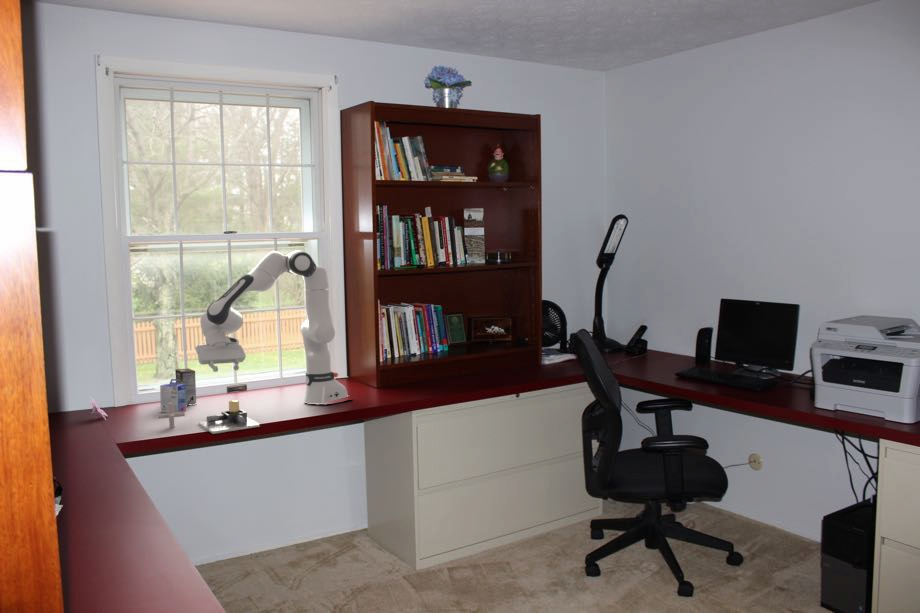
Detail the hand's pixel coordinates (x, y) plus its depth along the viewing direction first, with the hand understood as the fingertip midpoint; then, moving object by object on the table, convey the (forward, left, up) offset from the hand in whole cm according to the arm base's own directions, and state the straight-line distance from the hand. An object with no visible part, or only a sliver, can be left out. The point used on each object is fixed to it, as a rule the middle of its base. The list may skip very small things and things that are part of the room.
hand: (226, 370), depth 317 cm
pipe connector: (+25, +5, -20) cm, 32 cm away
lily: (+47, -29, -20) cm, 58 cm away
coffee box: (+8, -37, -20) cm, 43 cm away
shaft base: (+5, +16, -20) cm, 27 cm away
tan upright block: (+2, +13, -19) cm, 23 cm away
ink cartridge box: (+17, -24, -20) cm, 36 cm away
